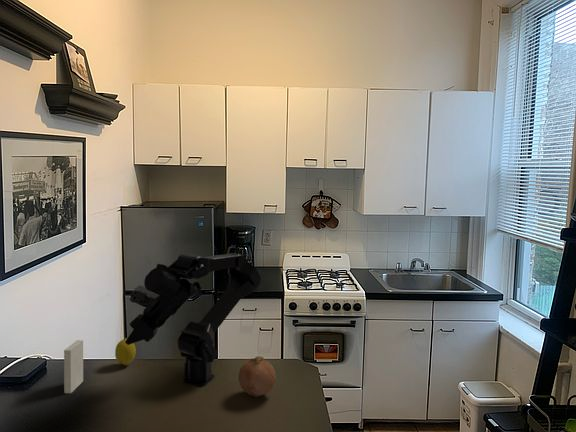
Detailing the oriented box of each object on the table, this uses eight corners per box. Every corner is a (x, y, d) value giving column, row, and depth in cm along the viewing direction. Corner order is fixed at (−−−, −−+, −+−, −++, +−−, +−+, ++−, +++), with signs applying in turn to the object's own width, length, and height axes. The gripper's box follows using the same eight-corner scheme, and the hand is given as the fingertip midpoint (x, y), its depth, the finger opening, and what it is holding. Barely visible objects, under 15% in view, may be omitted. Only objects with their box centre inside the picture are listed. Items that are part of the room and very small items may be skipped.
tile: (83, 380, 120) (83, 340, 120) (70, 393, 113) (70, 350, 113) (77, 380, 120) (76, 340, 120) (64, 393, 113) (63, 350, 113)
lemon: (129, 370, 128) (129, 342, 127) (111, 368, 129) (111, 340, 128) (139, 362, 133) (139, 336, 132) (122, 360, 134) (122, 334, 134)
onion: (247, 384, 121) (248, 348, 120) (280, 391, 118) (281, 353, 117) (231, 400, 112) (232, 361, 111) (266, 407, 109) (267, 367, 108)
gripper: (160, 269, 124) (120, 307, 125) (138, 285, 105) (91, 330, 106) (189, 298, 125) (148, 336, 126) (172, 319, 106) (125, 363, 107)
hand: (129, 340), depth 116 cm, fingers open, 4 cm apart
